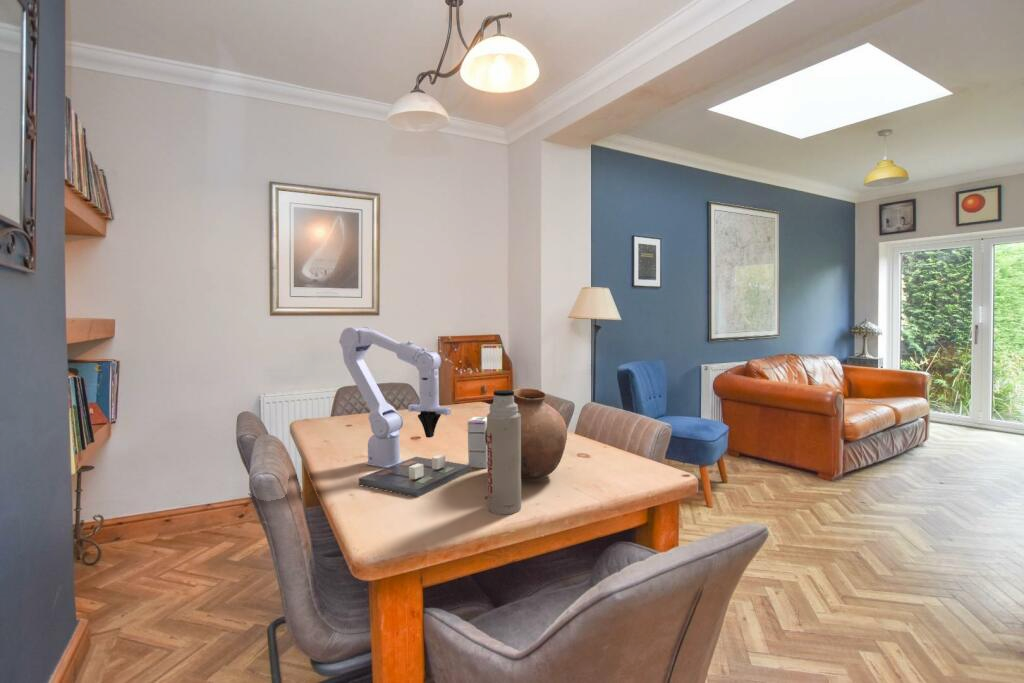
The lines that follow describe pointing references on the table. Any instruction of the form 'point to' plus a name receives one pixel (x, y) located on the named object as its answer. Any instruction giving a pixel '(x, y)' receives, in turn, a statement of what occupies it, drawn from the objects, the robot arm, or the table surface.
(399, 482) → the breaker panel
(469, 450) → the syrup box
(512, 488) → the thermos bottle
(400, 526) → the table surface
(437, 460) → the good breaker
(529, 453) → the pottery
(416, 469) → the beige rectangular block
